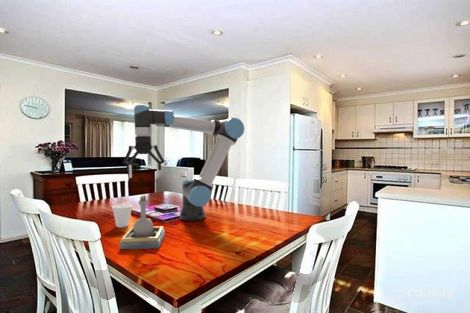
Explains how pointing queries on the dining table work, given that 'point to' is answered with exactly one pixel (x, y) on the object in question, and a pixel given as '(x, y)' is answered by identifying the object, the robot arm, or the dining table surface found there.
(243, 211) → the dining table surface
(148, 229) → the potion bottle
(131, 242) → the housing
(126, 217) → the cup
